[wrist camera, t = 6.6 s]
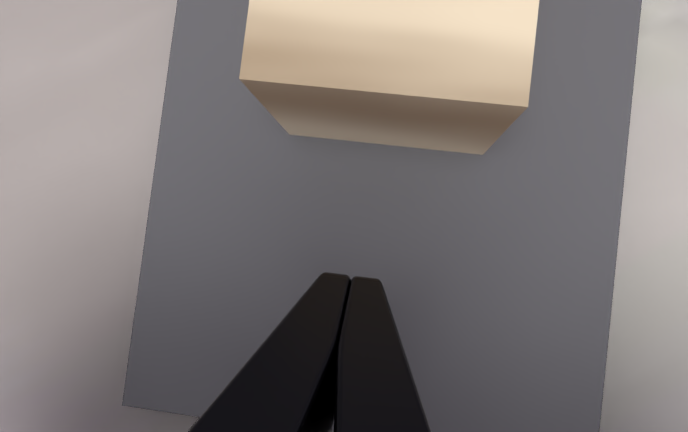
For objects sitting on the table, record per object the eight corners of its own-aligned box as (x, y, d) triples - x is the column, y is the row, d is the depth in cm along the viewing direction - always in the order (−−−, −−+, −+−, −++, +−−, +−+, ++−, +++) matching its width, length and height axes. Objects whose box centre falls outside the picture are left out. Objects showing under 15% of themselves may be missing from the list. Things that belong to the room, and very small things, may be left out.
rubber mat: (586, 467, 15) (594, 477, 14) (132, 399, 16) (122, 405, 15) (647, -143, 15) (656, -158, 15) (209, -168, 17) (202, -183, 16)
